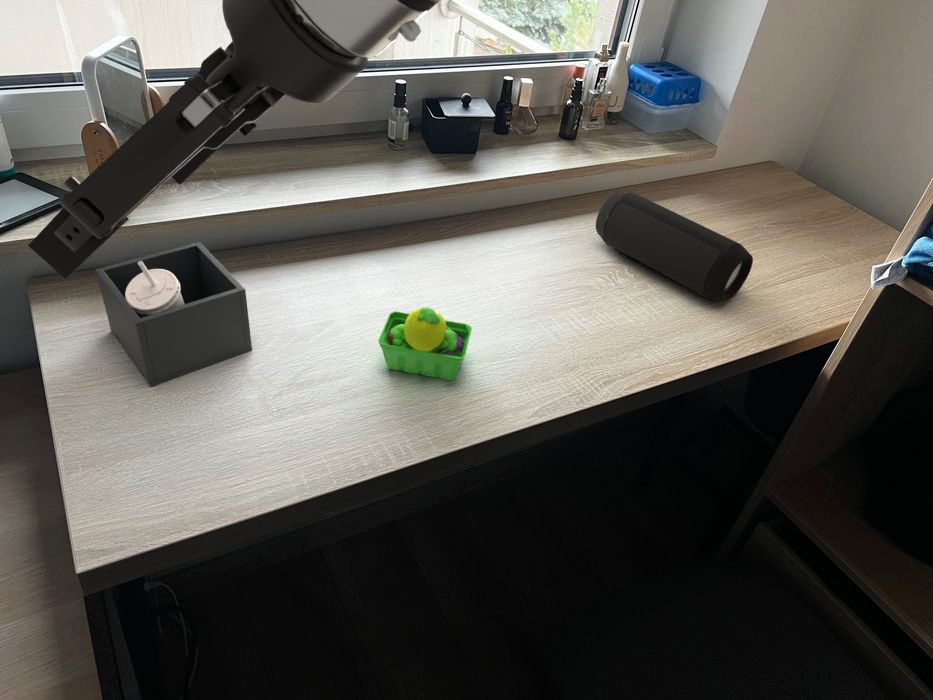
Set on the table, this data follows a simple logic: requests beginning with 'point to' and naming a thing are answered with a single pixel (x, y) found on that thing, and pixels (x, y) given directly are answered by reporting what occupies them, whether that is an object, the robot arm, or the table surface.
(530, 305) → the table surface
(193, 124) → the robot arm
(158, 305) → the smoothie
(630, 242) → the portable speaker
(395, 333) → the fruit basket
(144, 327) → the bin
